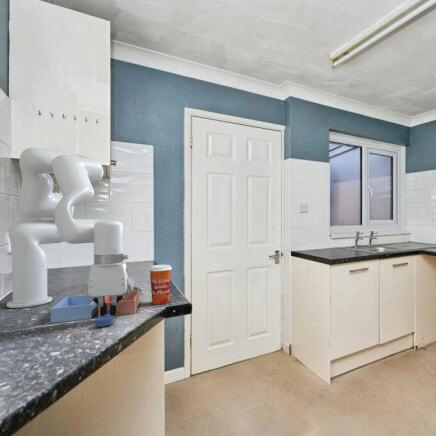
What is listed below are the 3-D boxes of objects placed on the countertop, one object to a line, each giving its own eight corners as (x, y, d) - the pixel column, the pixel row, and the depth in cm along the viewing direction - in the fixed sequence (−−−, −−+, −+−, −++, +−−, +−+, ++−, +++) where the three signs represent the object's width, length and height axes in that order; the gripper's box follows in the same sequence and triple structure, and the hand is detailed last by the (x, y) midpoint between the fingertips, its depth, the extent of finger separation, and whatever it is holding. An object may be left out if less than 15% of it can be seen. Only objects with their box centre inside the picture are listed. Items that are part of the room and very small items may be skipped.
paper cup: (148, 306, 114) (148, 268, 114) (149, 301, 121) (149, 265, 120) (172, 303, 117) (172, 266, 117) (172, 298, 124) (172, 263, 124)
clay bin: (107, 304, 116) (107, 292, 116) (139, 301, 120) (139, 289, 120) (98, 317, 101) (98, 303, 101) (135, 313, 106) (135, 300, 106)
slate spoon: (102, 316, 101) (102, 310, 101) (118, 314, 103) (118, 308, 103) (94, 327, 91) (94, 321, 91) (112, 325, 93) (112, 319, 93)
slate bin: (66, 309, 110) (66, 296, 110) (101, 305, 115) (101, 293, 115) (50, 323, 96) (50, 308, 96) (91, 318, 100) (91, 304, 100)
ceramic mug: (109, 299, 123) (110, 279, 123) (114, 294, 131) (114, 276, 131) (140, 296, 128) (141, 278, 128) (143, 292, 135) (143, 274, 135)
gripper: (138, 256, 106) (138, 311, 106) (81, 259, 99) (81, 317, 99) (136, 259, 99) (135, 317, 99) (74, 262, 92) (74, 324, 92)
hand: (108, 317), depth 99 cm, fingers closed on slate spoon, 1 cm apart
